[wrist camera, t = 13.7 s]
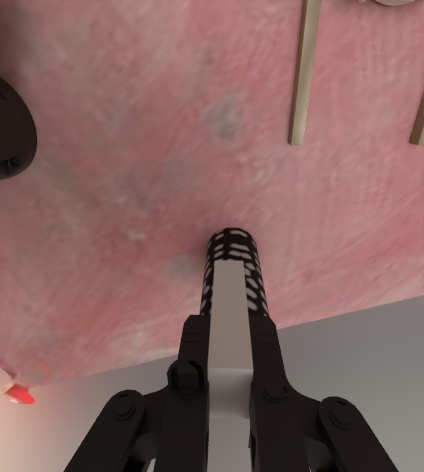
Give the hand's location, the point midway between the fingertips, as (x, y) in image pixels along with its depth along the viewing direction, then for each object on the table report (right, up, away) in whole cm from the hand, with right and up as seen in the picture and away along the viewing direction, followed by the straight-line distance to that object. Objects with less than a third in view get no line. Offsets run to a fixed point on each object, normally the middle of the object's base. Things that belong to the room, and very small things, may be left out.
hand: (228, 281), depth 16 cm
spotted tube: (+3, 0, +33) cm, 33 cm away
